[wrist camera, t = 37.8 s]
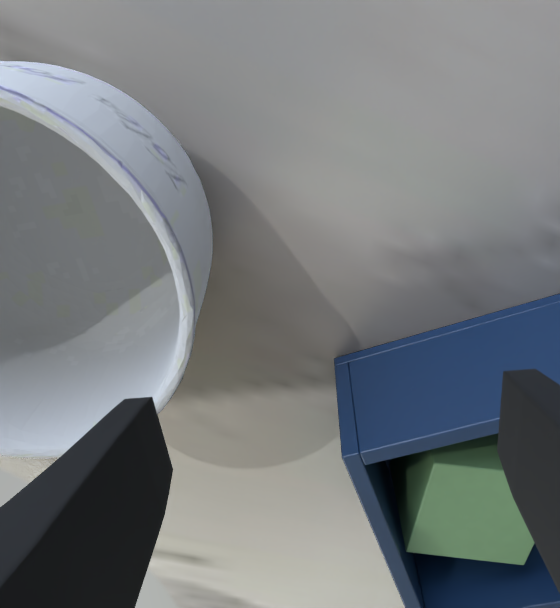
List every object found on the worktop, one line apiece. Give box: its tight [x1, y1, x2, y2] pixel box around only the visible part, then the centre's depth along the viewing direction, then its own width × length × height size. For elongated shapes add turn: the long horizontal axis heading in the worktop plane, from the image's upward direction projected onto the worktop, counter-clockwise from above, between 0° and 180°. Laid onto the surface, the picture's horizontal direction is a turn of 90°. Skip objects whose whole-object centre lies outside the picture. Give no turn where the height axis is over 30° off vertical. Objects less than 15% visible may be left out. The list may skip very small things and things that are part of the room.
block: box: [390, 433, 535, 565], centre depth 21 cm, size 5×5×5 cm
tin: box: [334, 294, 560, 608], centre depth 21 cm, size 12×10×6 cm
